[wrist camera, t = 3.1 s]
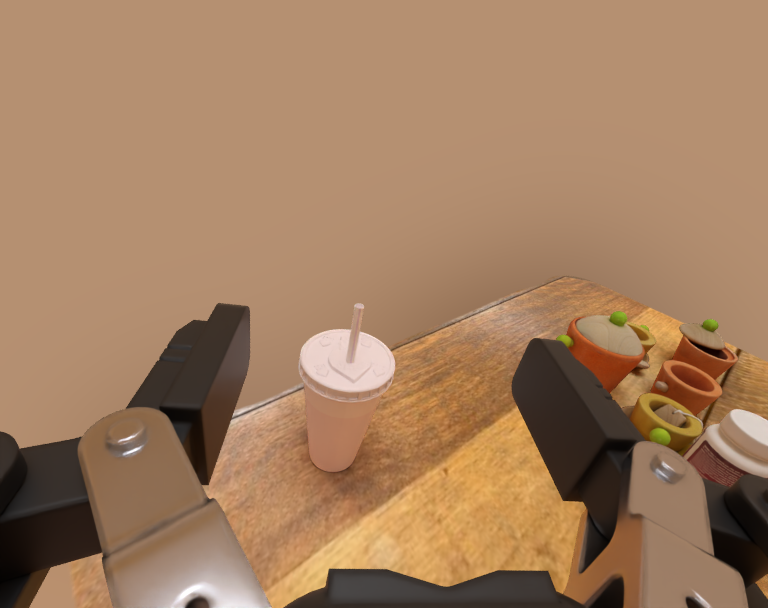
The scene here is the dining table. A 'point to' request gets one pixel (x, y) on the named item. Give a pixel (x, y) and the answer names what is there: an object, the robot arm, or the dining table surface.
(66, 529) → the robot arm
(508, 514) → the dining table surface
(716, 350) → the toy tea set
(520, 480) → the dining table surface
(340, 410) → the smoothie
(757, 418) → the pill bottle
